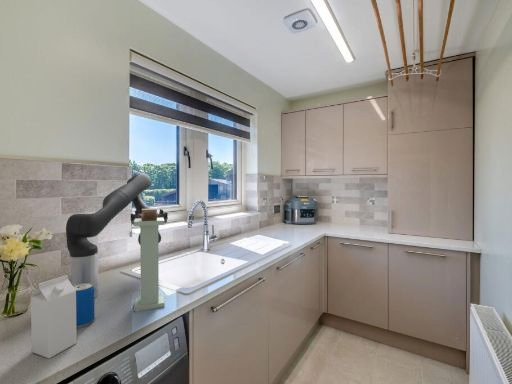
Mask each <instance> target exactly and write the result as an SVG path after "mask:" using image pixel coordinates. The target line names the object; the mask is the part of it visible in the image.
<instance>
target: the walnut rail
mask: <svg viewBox="0 0 512 384" xmlns="http://www.w3.org/2000/svg"><path fill="white" fill-rule="evenodd" d="M157 213H158V209H157V208H150V209H142V221H156V220H157Z"/></svg>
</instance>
